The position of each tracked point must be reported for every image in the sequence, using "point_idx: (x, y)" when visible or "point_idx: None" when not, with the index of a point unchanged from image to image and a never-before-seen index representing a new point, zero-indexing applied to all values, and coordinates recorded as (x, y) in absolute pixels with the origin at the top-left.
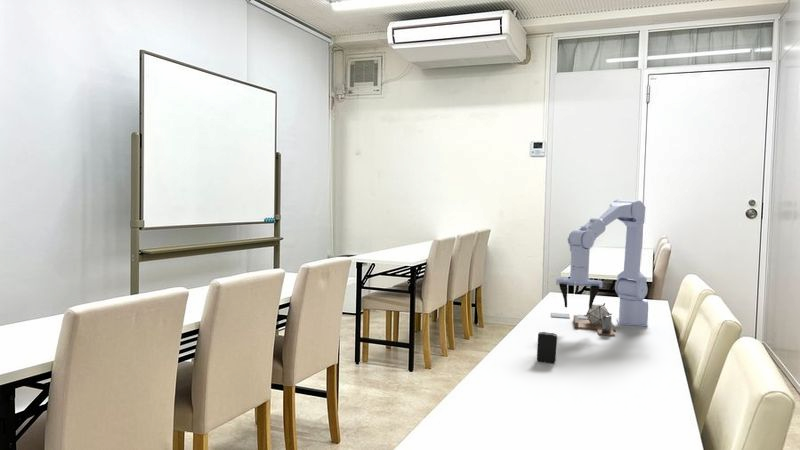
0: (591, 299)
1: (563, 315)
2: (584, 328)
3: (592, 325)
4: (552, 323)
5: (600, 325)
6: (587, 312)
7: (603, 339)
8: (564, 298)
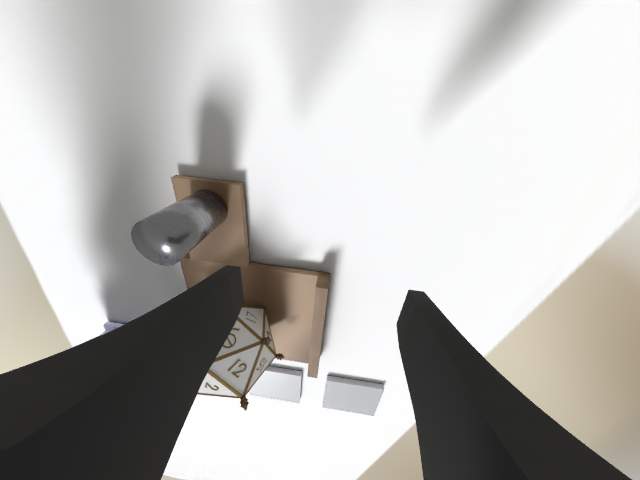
0: (175, 313)
1: (342, 395)
2: (294, 270)
3: (262, 300)
4: None
5: None
6: (267, 365)
7: (222, 114)
8: (472, 352)
